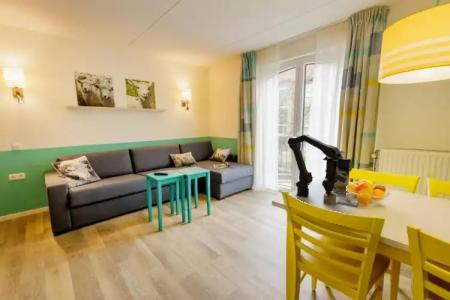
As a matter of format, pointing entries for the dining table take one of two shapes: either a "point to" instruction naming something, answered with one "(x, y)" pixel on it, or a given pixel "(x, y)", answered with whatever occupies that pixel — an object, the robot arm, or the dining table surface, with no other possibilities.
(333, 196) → the open wooden cubby
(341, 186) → the coffee box
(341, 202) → the grey square slab
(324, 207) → the dining table surface
